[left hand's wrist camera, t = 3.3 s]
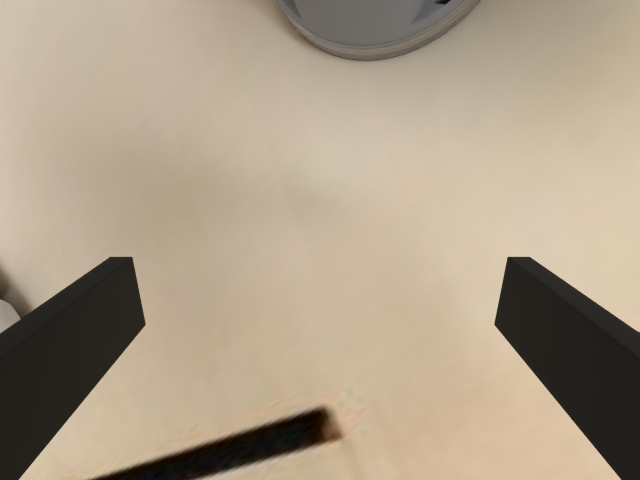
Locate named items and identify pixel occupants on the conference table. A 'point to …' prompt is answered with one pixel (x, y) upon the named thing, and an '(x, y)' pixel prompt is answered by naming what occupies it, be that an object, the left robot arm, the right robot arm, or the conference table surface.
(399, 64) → the conference table surface
